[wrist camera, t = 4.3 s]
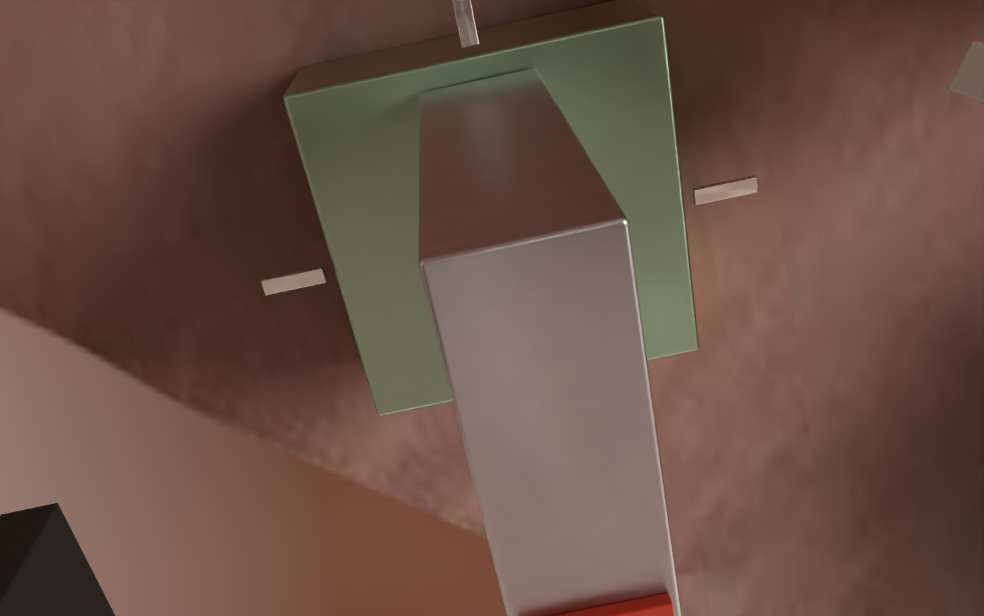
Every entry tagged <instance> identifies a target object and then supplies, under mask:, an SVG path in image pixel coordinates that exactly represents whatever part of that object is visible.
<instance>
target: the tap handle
mask: <svg viewBox="0 0 984 616" xmlns="http://www.w3.org/2000/svg"><path fill="white" fill-rule="evenodd" d="M418 265H419V269H420V273H421V277H422V281H423V285H424V289H425V293H426V297H427V301H428V305H429V309H430V313H431V317H432V321H433V324H434V328H435V332H436V336H437V340H438V344H439V348H440V352H441V356H442V360H443V364H444V368H445V372H446V376H447V380H448V384H449V388H450V392H451V396H452V400H453V403H454V407H455V411H456V415H457V419H458V423H459V427H460V431H461V435H462V439H463V443H464V447H465V451H466V455H467V459H468V463H469V467H470V471H471V475H472V478H473V482H474V486H475V490H476V494H477V498H478V502H479V506H480V510H481V514H482V518H483V522H484V526H485V530H486V534H487V538H488V542H489V546H490V549H491V553H492V557H493V561H494V565H495V569H496V573H497V577H498V581H499V585H500V589H501V593H502V597H503V601H504V605H505V608H506V613H507V616H682V614H681V606H680V599H679V591H678V584H677V577H676V569H675V562H674V554H673V547H672V540H671V532H670V525H669V517H668V510H667V503H666V495H665V488H664V481H663V473H662V466H661V458H660V451H659V444H658V436H657V429H656V421H655V414H654V407H653V399H652V392H651V384H650V377H649V370H648V362H647V355H646V347H645V340H644V333H643V325H642V318H641V310H640V303H639V296H638V288H637V281H636V274H635V266H634V259H633V251H632V244H631V237H630V229H629V222H628V220H627V218H626V216H625V215H624V213H623V211H622V210H621V208H620V206H619V205H618V203H617V201H616V200H615V198H614V197H613V195H612V193H611V192H610V190H609V188H608V187H607V185H606V183H605V182H604V180H603V178H602V177H601V175H600V173H599V172H598V170H597V168H596V167H595V165H594V163H593V162H592V160H591V158H590V157H589V155H588V154H587V152H586V150H585V149H584V147H583V145H582V144H581V142H580V140H579V139H578V137H577V135H576V134H575V132H574V130H573V129H572V127H571V125H570V124H569V122H568V120H567V119H566V117H565V115H564V114H563V112H562V111H561V109H560V107H559V106H558V104H557V102H556V101H555V99H554V97H553V96H552V94H551V92H550V91H549V89H548V87H547V86H546V84H545V82H544V81H543V79H542V77H541V76H540V74H539V73H538V71H537V69H529V70H524V71H519V72H515V73H510V74H505V75H501V76H496V77H491V78H487V79H482V80H477V81H473V82H468V83H463V84H459V85H454V86H449V87H445V88H440V89H435V90H430V91H426V92H422V93H420V94H419V259H418Z"/></svg>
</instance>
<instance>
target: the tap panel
mask: <svg viewBox="0 0 984 616" xmlns="http://www.w3.org/2000/svg"><path fill="white" fill-rule="evenodd" d="M452 2H453V7H454V12H455V17H456V22H457V27H458V32H459V34H456V35H451V36H447V37H442V38H437V39H433V40H428V41H423V42H419V43H414V44H409V45H405V46H400V47H395V48H391V49H386V50H381V51H377V52H372V53H367V54H363V55H358V56H353V57H349V58H344V59H339V60H335V61H330V62H325V63H321V64H316V65H311V66H307V67H302V68H301V69H300V70H299V71H298V73H297V75H296V76H295V78H294V79H293V81H292V83H291V84H290V86H289V88H288V89H287V91H286V92H285V94H284V96H283V101H284V104H285V108H286V111H287V114H288V118H289V121H290V124H291V128H292V131H293V134H294V138H295V141H296V144H297V148H298V151H299V154H300V158H301V161H302V164H303V168H304V171H305V174H306V178H307V181H308V184H309V188H310V191H311V194H312V198H313V201H314V204H315V208H316V211H317V214H318V218H319V221H320V224H321V228H322V231H323V234H324V238H325V241H326V244H327V248H328V251H329V254H330V258H331V261H332V264H333V268H334V271H335V274H336V278H337V281H338V284H339V288H340V291H341V294H342V298H343V301H344V304H345V308H346V311H347V314H348V318H349V321H350V324H351V328H352V331H353V334H354V338H355V341H356V344H357V348H358V351H359V354H360V358H361V361H362V364H363V368H364V371H365V374H366V378H367V381H368V384H369V388H370V391H371V394H372V397H373V401H374V404H375V407H376V411H377V413H378V414H379V415H386V414H391V413H396V412H401V411H405V410H410V409H415V408H420V407H425V406H430V405H434V404H439V403H444V402H449V401H453V400H452V396H451V392H450V388H449V384H448V380H447V376H446V372H445V368H444V364H443V360H442V356H441V352H440V348H439V344H438V340H437V336H436V332H435V328H434V324H433V321H432V317H431V313H430V309H429V305H428V301H427V297H426V293H425V289H424V285H423V281H422V277H421V273H420V269H419V265H418V259H419V94H420V93H422V92H426V91H430V90H435V89H440V88H445V87H449V86H454V85H459V84H463V83H468V82H473V81H477V80H482V79H487V78H491V77H496V76H501V75H505V74H510V73H515V72H519V71H524V70H529V69H537V71H538V73H539V74H540V76H541V77H542V79H543V81H544V82H545V84H546V86H547V87H548V89H549V91H550V92H551V94H552V96H553V97H554V99H555V101H556V102H557V104H558V106H559V107H560V109H561V111H562V112H563V114H564V115H565V117H566V119H567V120H568V122H569V124H570V125H571V127H572V129H573V130H574V132H575V134H576V135H577V137H578V139H579V140H580V142H581V144H582V145H583V147H584V149H585V150H586V152H587V154H588V155H589V157H590V158H591V160H592V162H593V163H594V165H595V167H596V168H597V170H598V172H599V173H600V175H601V177H602V178H603V180H604V182H605V183H606V185H607V187H608V188H609V190H610V192H611V193H612V195H613V197H614V198H615V200H616V201H617V203H618V205H619V206H620V208H621V210H622V211H623V213H624V215H625V216H626V218H627V220H628V222H629V229H630V237H631V244H632V251H633V259H634V266H635V274H636V281H637V288H638V296H639V303H640V310H641V318H642V325H643V333H644V340H645V347H646V355H647V360H652V359H657V358H662V357H667V356H672V355H676V354H681V353H686V352H691V351H696V350H698V347H699V342H698V333H697V323H696V314H695V304H694V295H693V285H692V276H691V266H690V256H689V247H688V237H687V228H686V218H685V209H684V199H683V190H682V180H681V170H680V161H679V151H678V142H677V132H676V123H675V113H674V104H673V94H672V84H671V75H670V65H669V56H668V46H667V37H666V27H665V18H664V16H663V14H661V13H659V12H657V11H656V10H654V9H652V8H650V7H649V6H647V5H645V4H643V3H642V2H640V1H638V0H614V1H610V2H605V3H600V4H596V5H591V6H586V7H582V8H577V9H572V10H568V11H563V12H558V13H554V14H549V15H544V16H540V17H535V18H530V19H526V20H521V21H516V22H512V23H507V24H502V25H498V26H493V27H489V28H484V29H479V30H477V29H476V24H475V19H474V14H473V9H472V4H471V0H452ZM755 192H758V188H757V177H756V176H755V175H753V176H748V177H743V178H739V179H734V180H729V181H724V182H720V183H715V184H710V185H705V186H700V187H696V188H693V197H694V203H695V204H696V205H698V204H703V203H708V202H712V201H717V200H722V199H727V198H732V197H736V196H741V195H746V194H751V193H755ZM326 281H327V279H326V275H325V272H324V269H323V266H320V267H315V268H310V269H305V270H301V271H296V272H291V273H286V274H282V275H277V276H272V277H267V278H263V279H262V280H261V283H262V286H263V289H264V292H265V295H269V294H274V293H279V292H283V291H288V290H293V289H298V288H302V287H307V286H312V285H317V284H321V283H326Z"/></svg>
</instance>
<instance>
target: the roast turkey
mask: <svg viewBox="0 0 984 616" xmlns="http://www.w3.org/2000/svg"><path fill="white" fill-rule="evenodd" d="M948 89H949V90H951V91H954V92H956V93H959V94H961V95H964V96H966V97H969V98H971V99H974V100H976V101H979V102H981V103H984V43H981V42H978V41H973V43H972V44H971V46H970V48H969V50H968V52H967V54H966V56H965V58H964V60H963V62H962V64H961V65H960V67H959V69H958V71H957V73H956V75H955V77H954V79H953V81H952V83H951V85H950V86H949V88H948Z"/></svg>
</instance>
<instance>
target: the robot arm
mask: <svg viewBox="0 0 984 616" xmlns="http://www.w3.org/2000/svg"><path fill="white" fill-rule="evenodd" d="M0 616H115V615H114V613H113V610H112V608H111V607H110V605H109V603H108V601H107V599H106V597H105V595H104V593H103V591H102V589H101V587H100V585H99V583H98V581H97V579H96V578H95V575H94V573H93V571H92V570H91V567H90V566H89V564H88V562H87V560H86V558H85V556H84V554H83V552H82V550H81V548H80V546H79V544H78V542H77V540H76V538H75V536H74V534H73V532H72V531H71V528H70V526H69V524H68V522H67V521H66V519H65V517H64V515H63V513H62V511H61V509H60V507H59V505H58V503H55V504H50V505H45V506H41V507H36V508H32V509H26V510H21V511H17V512H12V513H7V514H2V515H1V516H0Z"/></svg>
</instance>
